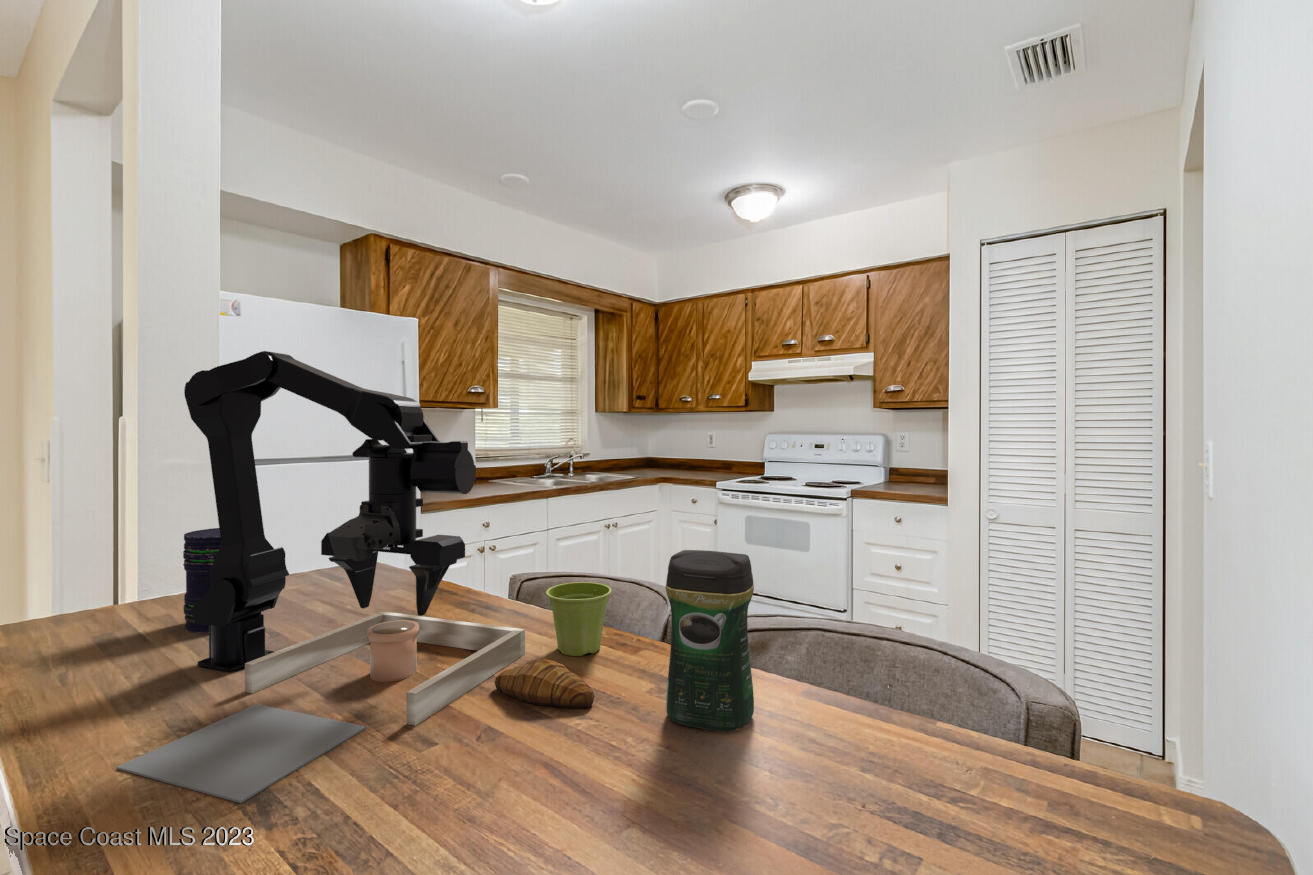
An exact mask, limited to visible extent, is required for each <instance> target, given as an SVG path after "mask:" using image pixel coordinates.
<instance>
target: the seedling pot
mask: <svg viewBox="0 0 1313 875" xmlns="http://www.w3.org/2000/svg"><path fill="white" fill-rule="evenodd" d="M418 634H419V624H418V623H417V622H415V621H409V620H396V621H388V622H383V623H379V624H376V625H374V626H372V627H370V628H369V629H368V640H369V641H370V643H369V651H370V652H369V662H370V663H369V664H370V665H369V667H370V669H369V670H370V672H369V673H370V674H369V677H370V679H371V680H372V681H375V682H378V683H379V682H381V683H389V682H390V683H391V682H397V681H402V680H406V679H409V678H410V677H412V676H414V675H415V674H416V673H417V671H418V670H417V669H418V668H417V667H418V666H417V664H418V663H417V662H418V661H417V660H418V659H417V657H418V656H417V655H418V653H417V652H418V650H417V649H418V648H417V646H418V645H417V643H418V642H417V635H418Z"/></svg>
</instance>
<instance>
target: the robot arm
mask: <svg viewBox="0 0 1313 875" xmlns="http://www.w3.org/2000/svg"><path fill="white" fill-rule="evenodd" d="M183 389H184V391H183V392H184V398H185V401H186V405H187V410H188V412H189V416H190V419H191V420H192V422H193V423H194V424H195V425H196V427H197V428H198V429H199V430H200V431H201V433H202V434H203V435H204V437H205V438H206V440H207V444H208V451H209V459H210V461H209V462H210V466H211V475H212V481H213V482H212V483H213V491H214V498H215V506H216V514H217V521H218V528H219V530H220V537H221V547H220V549H219V551H218V554H217V556H216V558H215V560H214V562H213V564H212V567H211V582H210V589H209V590H208V591H207V592H206V594H205V595H204V596H203V597H202V598H201V599H200V600H199V601H198V602H197V603H196V604H195V605H194V606H193V607H192V608H191V613H192V616H193V619H194V623H195V624H196V625H209V633H208V657H207V658H205V659H200V660H198V661H197V667H204V668H209V669H214V670H219V671H225V672H233V671H237V670H239V669H241V668H245V663H248V662H250V661H253V660H255V659H258V658H261V657H263V656H266V655H269V654H271V653H274V652H275V651H274V650H268V649H266V627H265V615H264V614H262V612H264V611H265V612H266V611H268V610H272V609H275V607H276V606H277V601H278V600H279V599H278V598H279V596H280V593H281V592H282V591H283V590H284V589H285V588H286V587H285V586H286V584H287V583H286V580H287V579H286V577H289V575H290V572H289V571H288V569H287V565H286V551H285V549H284V547H283V546H281V547H277V548H274V546H272V545H271V543H270V542H269V540H268V539H267V538H266V536H265V530H264V522H263V515H262V507H261V500H260V499H261V498H260V493H259V492H260V491H259V484H258V476H257V469H256V462H255V454H254V447H253V446H254V445H253V439H252V438H253V437H252V436H253V433H254V432H255V431H254V430H255V429H256V426H257V424H258V422H259V420H260V418H261V414H262V402H264V401H266V400H267V399H269V398H272V397H273V396H275V395H276V394H277V393H278V392H279V391H280V389H283V390H286V391H288V392H290V393H292V394H295V395H297V396H299V397H301V398H305V399H306V400H309V401H311V402H313V403H314V404H318V405H320V406H323V407H325V408H326V409H330V410H332V411H334V412H336V413H338V414H340V415H341V416H343V417H344V418H345V419H346V420H347V421H348V423H349V424H350V425H351V426H352V427H353V428H355V429H356V430H358V431H360V432H361V433H362V434H363V435H365V436H367V437H368V438H367V439H364V442H362V444H361V445H360V446H358V447H357V448H356V449H355V450H354V451H353V452H352V457H354V458H368V500H363V501H361V503H360V505H359V514H358V515H357V516H355V517H353V518H351V519H348V520H347V521H346V522H344V523H342V524H341V525H339V526H338V527H336V528H334V529H333V530H331V531H330V532H326V534H324V536H323V538H322V539H321V541H320V542H321V544H320V551H321V552H320V554H321V556H329V557H328V560H329V561H330V563H331V562H332V563H335V564H337V565H338V566H339V567H340V568H342V569H343V570H344V572H345V574H346V576H347V577H348V579H349V582H350V584H351V586H352V589H353V591H354V594H355V596H356V600H357V602H358V604H359V608H360V609H367V608H369V606H370V603H371V599H372V596H373V591H374V582H375V576H376V568H377V564H378V562H377V561H378V556H379V553H390V554H401V555H410V559H411V560H412V561H413V563H414V565H410V566H409V565H408V568H409V569H410V571H411V572H412V573H413V575H414V577H415V591H416V593H415V594H416V595H415V598H416V599H415V600H416V601H415V602H416V605H415V606H416V612H417V616H425V615H426V614H427V612H428V610H429V608H430V605H431V603H432V601H433V599H434V597H435V595H436V593H437V591H438V588H439V585H440V583H441V582H442V580H443V578H444V576H445V574H446V573H447V572H448V569H450V567H451V565H455V564H457V561H458V560H461V559H463V558H466V543H465V541H464V540H463V538H462V537H461V536H459V535H451V534H450V535H447V534H436V535H432V536H427V537H424V529H422V528H417V508H418V507H423V506H424V498H422V497H421V498H419V497H417V489H418V491H419V492H420V493H422V494H440V495H441V494H444V495H445V494H446V495H447V494H450V495H467V494H469V493H470V492H471V491H472V489H473V487H474V485H475V481H476V477H477V476H476V474H477V466H476V465H475V461H474V457H473V455H472V453H471V452H470V450H469V442H468V441H467V440H453V441H448V442H440V440H439V438H438V437H437V436H436V434H435V432H434V431H433V429H432V427H430V425H429V424H428V423H427V421H426V420H425V418H424V412H423V410H422V406H421V404H420V403H419V402H418V401H417V400H415V399H414V398H412V397H408V396H402V395H399V394H394V393H388V392H382V391H378V390H373V389H367V388H363V387H361V386H358V385H356V384H354V383H352V382H349V381H347V380H344V379H342V378H339V377H337V376H335V375H333V374H330V373H327V372H325V371H323V370H322V369H318V368H316V367H313V366H312V365H310V364H307V363H304V362H302V361H300V360H297V359H296V358H294V357H293V356H291V355H290V354H287V353H286V354H285V353H279V352H274V351H267V350H264V351H263V350H262V351H260V352H256V353H253V354H252V355H250V356H248V357H246V358H244V359H240V360H237V361H232V362H229V363H224V364H221V365H217V366H215V367H213V368H211V369H209V370H207V369H205V370H200V371H198V372H196V373H194V374H192V376H191V377H190V378H189V380H188V381H187V382H185V386H184V388H183ZM380 441H383V442H385V443H386V444H382V443H381V442H380ZM411 449H412V452H407V450H411ZM423 537H424V538H423ZM419 538H420V539H419Z"/></svg>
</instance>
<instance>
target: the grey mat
mask: <svg viewBox="0 0 1313 875" xmlns="http://www.w3.org/2000/svg"><path fill="white" fill-rule="evenodd" d="M366 729H367V726H365V725H361V724H357V723H352V722H346V721H342V720H337V719H332V718H327V717H326V718H325V717H321V716H317V715H313V714H312V715H311V714H309V713H308V714H307V713H303V712H297V711H292V710H288V709H282V708H277V707H272V706H268V705H263V704H259V703H255V704H253V705H251V706H249V707H246V708H244V709H241V710H240V711H237V712H236V713H233V714H230V715H228V716H227V717H224V718H221V719H219V720H217V721H215V722H213V723H211V724H208V725H207V726H204V727H201V728H199V729H197V730H195V731H193V732H190V733H188V734H187V735H184V736H182V737H180V738H178V739H174V740H173V741H171V742H169V743H166V744H164V745H162V746H160V747H157V748H156V749H153V750H151V751H148V752H147V753H144V754H142V755H140V756H137V757H135V758H134V759H131V760H129V761H126V762H124V763H122V764H120V765H117V767H116V770H118V771H124V772H126V773H129V774H130V773H131V774H135V775H137V776H141V777H144V778H147V779H153V780H156V781H159V782H162V783H166V784H169V785H172V786H177V787H181V788H184V789H188V790H191V791H196V792H199V793H203V794H206V795H209V796H213V797H217V798H220V799H224V800H228V801H231V802H235V803H238V804H242V803H244V802H246V801H248V800H249V799H251V798H252V797H254V796H255V795H257V794H259V793H261V792H262V791H264V790H266V789H267V788H269V787H270V786H273V785H274V784H276V783H277V782H279V781H280V780H282V779H284V778H285V777H288V776H289V775H290V774H292V773H294V772H296V771H297V770H299V769H300V768H302V767H304V766H306V765H307V764H309V763H310V762H312V761H314V760H316V759H317V758H319V757H321V756H322V755H324V754H325V753H328V752H329V751H331V750H333V749H334V748H335V747H337V746H339V745H341V744H343V743H344V742H346V741H347V740H349V739H351V738H352V737H354V736H356V735H358V734H359V733H360V732H361V733H362V731H364V730H366Z"/></svg>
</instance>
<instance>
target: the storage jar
mask: <svg viewBox="0 0 1313 875" xmlns="http://www.w3.org/2000/svg"><path fill="white" fill-rule="evenodd" d="M183 541H184V543H183V551H182V552H183V555H182V557H183V559H184V560H183V565H182V566H183V569H184V571H185V591H186V592H185V593H184V599H183V601H184V604H183V614H184V620H185V624H184V631H186V632H188V633H195V634H207V633H208V632H209V625H196V624H195V623H194V619H193V616H192V613H191V608H192V607H193V606H194V605H195V604H196V603H197V602H198V601H199V600H200V599H201V598H202V597H203V596H204V595H205V594H206V592H207V591H208V590H209V589H210V582H211V567H212V564H213V562H214V560H215V558H216V556H217V554H218V551H219V549H220V547H221V537H220V530H219V527H215V528H207V529H199V530H193V531H189V532H185V533H184V535H183ZM208 634H209V633H208Z"/></svg>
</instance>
